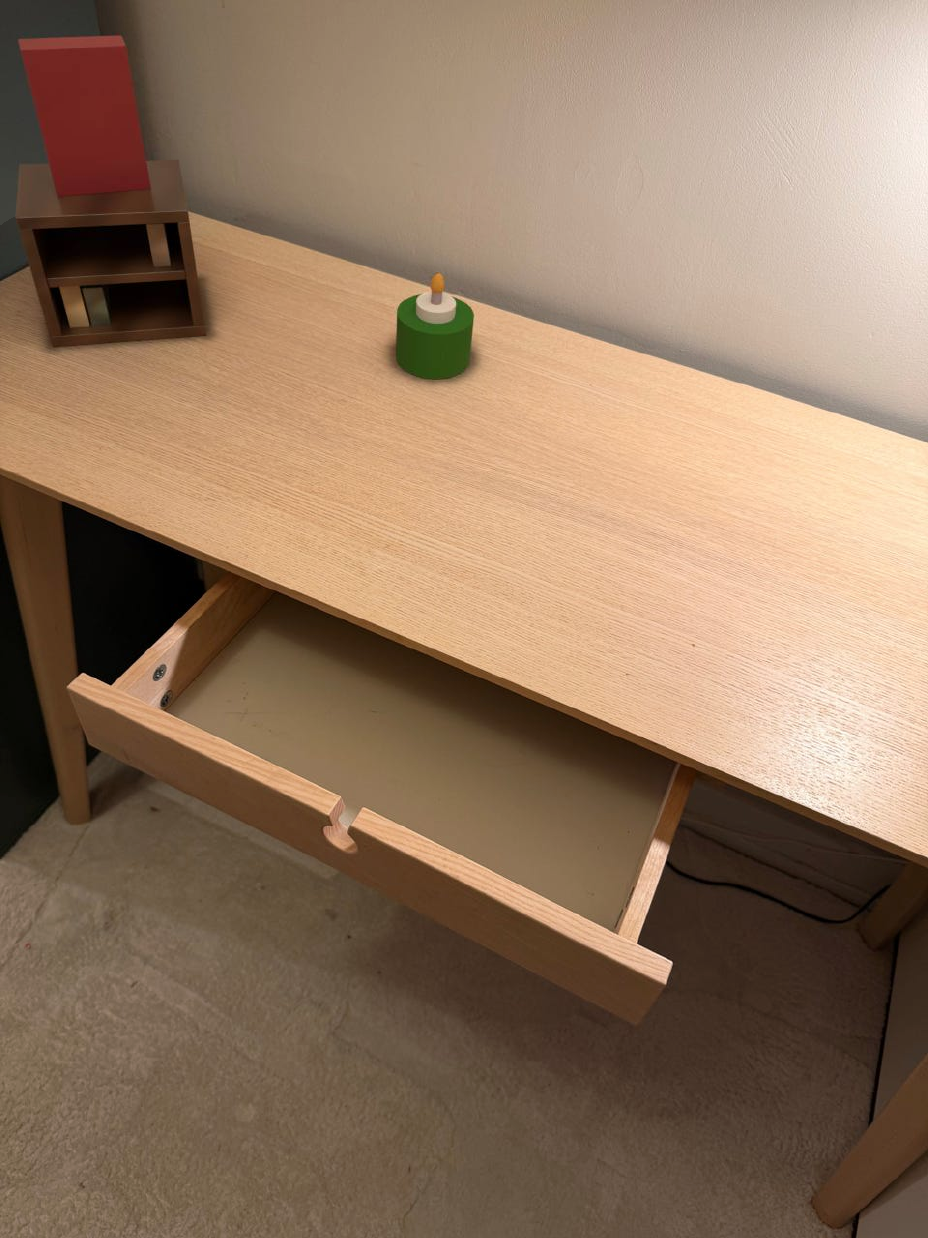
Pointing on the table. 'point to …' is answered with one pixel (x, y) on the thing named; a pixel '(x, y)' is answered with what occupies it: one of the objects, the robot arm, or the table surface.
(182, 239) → the bookshelf
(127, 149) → the book
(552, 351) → the table surface
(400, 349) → the candle
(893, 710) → the table surface
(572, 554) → the table surface
